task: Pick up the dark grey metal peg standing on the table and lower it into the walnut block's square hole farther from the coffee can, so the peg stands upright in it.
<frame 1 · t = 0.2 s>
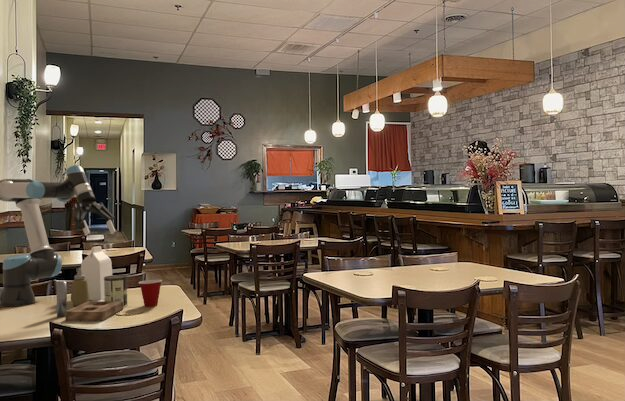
hand: (101, 233, 233), 35 cm above the table, tool tilted 35°, fingers open, 13 cm apart
coffee can: (115, 306, 241), on the table
squeeze bottle: (80, 305, 243), on the table
hole block: (95, 315, 223), on the table
peg: (62, 316, 222), on the table
plastic cup: (150, 305, 242), on the table
milk: (97, 297, 262), on the table
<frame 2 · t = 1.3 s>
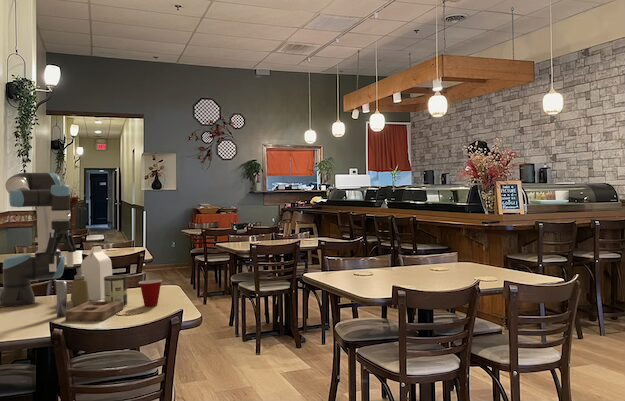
hand: (61, 269, 221), 21 cm above the table, tool pointing down, fingers open, 13 cm apart
nothing on the table moved.
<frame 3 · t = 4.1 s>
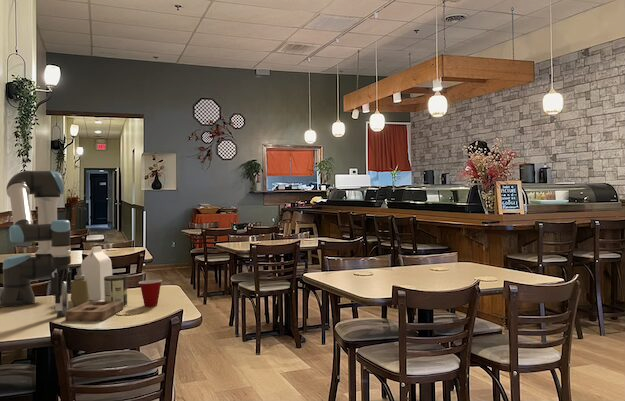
hand: (61, 309, 222), 3 cm above the table, tool pointing down, fingers closed on peg, 4 cm apart
peg: (62, 316, 222), on the table, touching gripper
everything else where it was.
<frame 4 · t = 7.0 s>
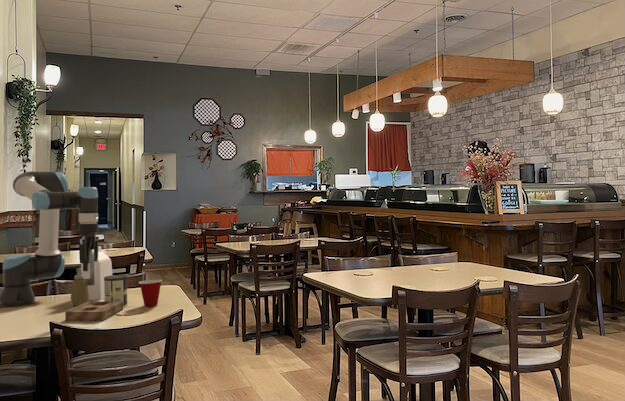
hand: (89, 277, 218), 17 cm above the table, tool pointing down, fingers closed on peg, 4 cm apart
peg: (89, 284, 218), point 14 cm above the table, touching gripper
everything else where it was.
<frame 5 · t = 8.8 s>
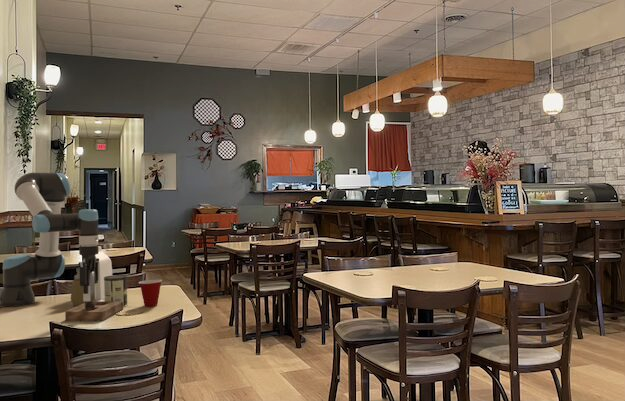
hand: (89, 299, 218), 8 cm above the table, tool pointing down, fingers closed on peg, 4 cm apart
peg: (89, 307, 218), point 5 cm above the table, touching gripper
everything else where it was.
when the fingers open (6 cm above the table, at t = 10.4 s): peg drops 2 cm, resting on hole block.
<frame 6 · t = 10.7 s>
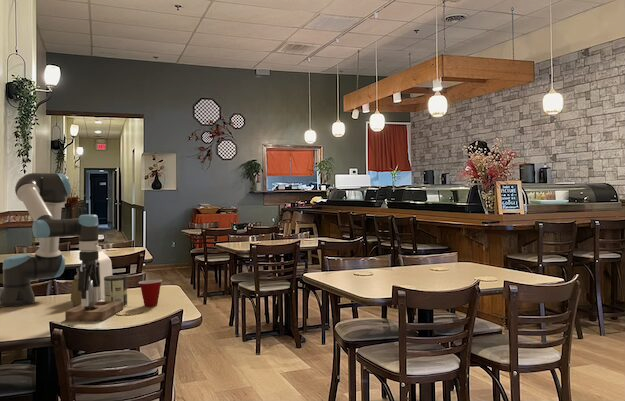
hand: (89, 304, 218), 6 cm above the table, tool pointing down, fingers open, 7 cm apart
peg: (89, 315, 218), point 1 cm above the table, tilted 5°, touching hole block
everything else where it was.
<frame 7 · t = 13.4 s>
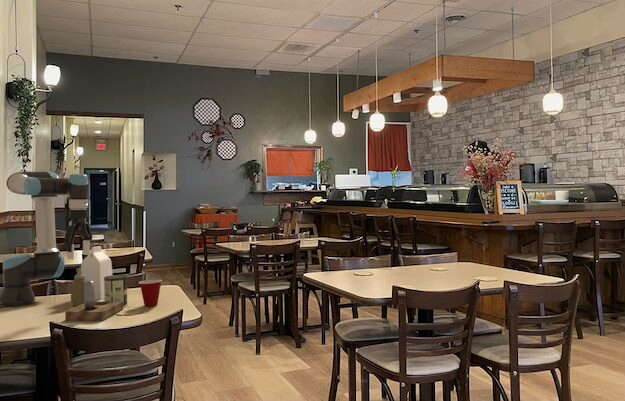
hand: (78, 257, 225), 25 cm above the table, tool pointing down, fingers open, 13 cm apart
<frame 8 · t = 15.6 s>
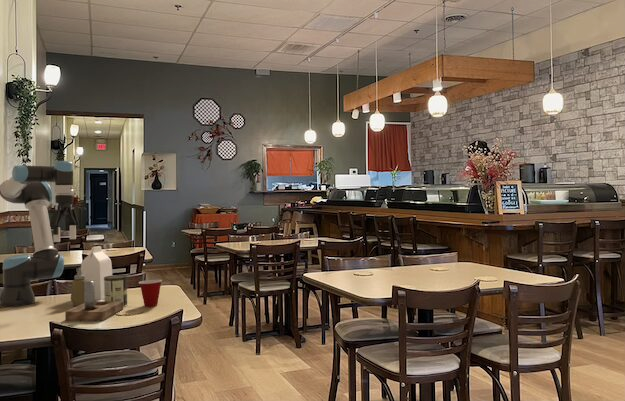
hand: (65, 240, 236), 32 cm above the table, tool pointing down, fingers open, 13 cm apart
nothing on the table moved.
at the end: peg 0.0 cm from the target spot on the hole block, point 0.8 cm above the hole block's base; peg tilted 0°; the gripper is holding nothing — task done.
